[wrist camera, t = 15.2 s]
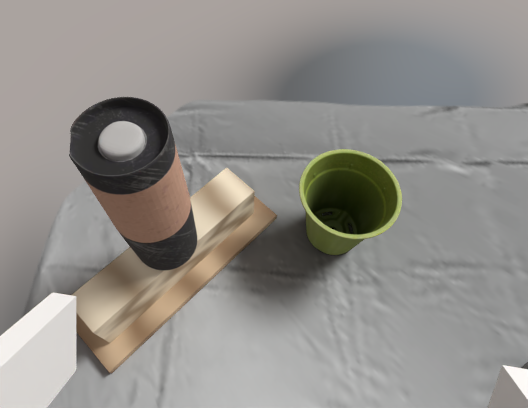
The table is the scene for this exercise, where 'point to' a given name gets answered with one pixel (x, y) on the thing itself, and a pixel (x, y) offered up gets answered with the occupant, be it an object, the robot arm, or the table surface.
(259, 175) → the table surface
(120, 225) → the travel mug
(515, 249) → the table surface
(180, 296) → the ridge
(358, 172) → the plant pot
